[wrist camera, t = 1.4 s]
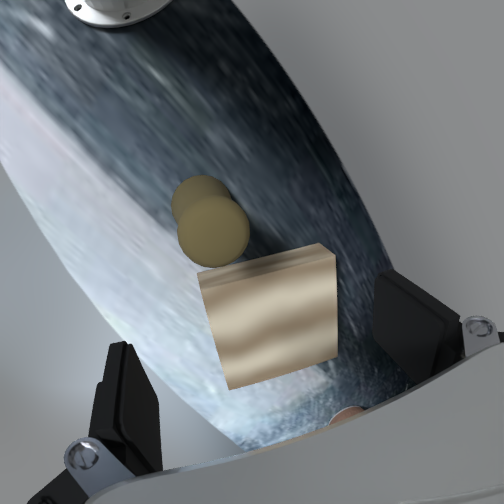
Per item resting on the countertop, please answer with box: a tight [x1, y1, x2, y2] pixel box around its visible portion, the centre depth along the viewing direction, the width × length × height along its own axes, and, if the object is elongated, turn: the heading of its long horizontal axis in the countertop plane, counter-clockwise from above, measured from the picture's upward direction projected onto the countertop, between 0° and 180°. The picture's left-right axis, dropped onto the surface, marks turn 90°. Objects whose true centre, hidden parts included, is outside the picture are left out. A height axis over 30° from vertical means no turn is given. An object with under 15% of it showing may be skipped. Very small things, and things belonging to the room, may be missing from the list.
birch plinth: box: [197, 243, 338, 390], centre depth 36 cm, size 14×14×4 cm
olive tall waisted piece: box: [171, 175, 250, 268], centre depth 26 cm, size 6×6×11 cm
